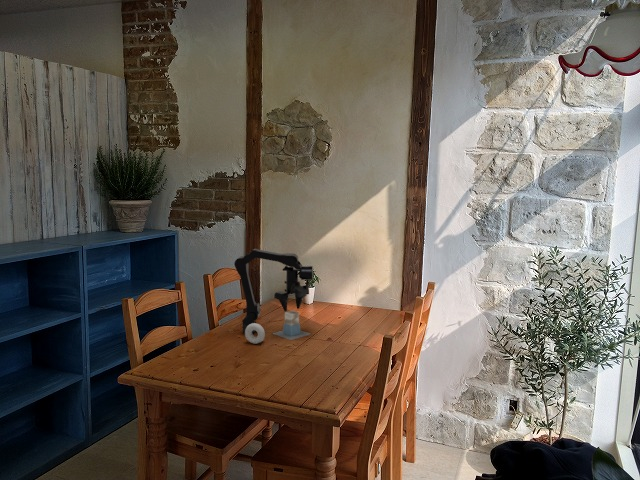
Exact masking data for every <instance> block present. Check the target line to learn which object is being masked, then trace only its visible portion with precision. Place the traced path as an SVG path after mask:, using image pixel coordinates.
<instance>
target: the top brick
mask: <svg viewBox="0 0 640 480" xmlns="http://www.w3.org/2000/svg"><path fill="white" fill-rule="evenodd" d="M284 324H287V325H290V326H293V325H297V324H300V312H299V311H296V310H287V312H285V311H284Z"/></svg>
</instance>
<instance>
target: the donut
mask: <svg viewBox="0 0 640 480" xmlns="http://www.w3.org/2000/svg"><path fill="white" fill-rule="evenodd" d="M253 330H255V331H257V332H256V333H257V336H255V335H254V334H252V331H253ZM265 335H266V332H265V329H264V327H263V326H262V325H261V324H259V323H257V322H256V323H252V324H249V325H248V326H247V328H246V330H245V334H244V336H245V338H246V340H247V341H248V342H250V343H251V344H254V345H255V344H257V345H258V344H261V343H263V341H264V340H265V338H266V337H265Z"/></svg>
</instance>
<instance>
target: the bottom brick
mask: <svg viewBox="0 0 640 480" xmlns="http://www.w3.org/2000/svg"><path fill="white" fill-rule="evenodd" d="M282 326H283V328H282V330H283V334H286V335H289V336H294V335H298V334H300V330H301V324H300V323H299V324H297V325H293V326H290V325H287V324H285V323H283V324H282Z"/></svg>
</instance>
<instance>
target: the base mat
mask: <svg viewBox="0 0 640 480" xmlns="http://www.w3.org/2000/svg"><path fill="white" fill-rule="evenodd" d="M271 334H272V335H276V336H278V337H281V338H284V339H287V340H290V341H293V340H297V339H299V338H300V339H301V338H302V337H306V336H309V335H311V333H310V332H307V331H304V330H301V329H300V334H298V335H294V336H289V335H286V334H283V329H282V330H279V331H277V332H272V333H271Z"/></svg>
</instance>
